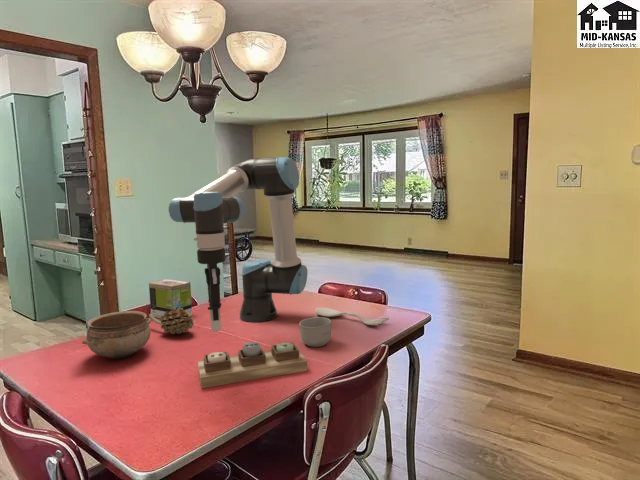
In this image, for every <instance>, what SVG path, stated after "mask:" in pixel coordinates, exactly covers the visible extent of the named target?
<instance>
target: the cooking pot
mask: <svg viewBox="0 0 640 480" xmlns="http://www.w3.org/2000/svg"><path fill="white" fill-rule="evenodd" d="M151 322H152V320H151V319H150V318H149V317H148V314H147V313H146V312H142V311H137V310H125V311H115V312H110V313H106V314H102V315H99V316H95V317H93V318H91V319H90V320H88V322H87V325H88V330H87V334H86V340H82V342H81V343H82V344H83V345H87V347H88V348H89V349H90V351H91V352H92V353H94V354H95V355H98V356H102V357H105V358H108V359H112V360H121V359H125V358H129V357H130V356H132V355H134V354H135V353H136V352H138V351H139V350H141V349H142V348H143V347H145V345H146V344H147V343H148V342H149V340H150V337H151V334H152V331H151V327H150V323H151Z"/></svg>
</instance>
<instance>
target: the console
mask: <svg viewBox="0 0 640 480" xmlns="http://www.w3.org/2000/svg"><path fill="white" fill-rule="evenodd" d="M290 343H291V344H293V351H287V352H280V353H278V352H277V348H276V346H277V345H278V344H273V345H271V348H270V349H271V350H266V351H265V350H263V348H262V347H260V356H253V357H246V358H245V357H243V349H239V350H238V352H237V353H238V354H237V355H236V354H235V355H229V352H228V351H223V353H225V354H226V361H219V362H212V363H208V355H209V353H208V354H203V359H202V360H197V371H198V377H199V383H200V388H201V389H203V388H210V387H217V386H222V385H229V384H235V383H241V382H247V381H254V380H259V379H260V380H261V379H264V378H265V379H266V378H270V377H272V378H273V377H278V376H282V375H289V374H295V373H302V372H307V371H308V360H307V359H306V358H305V356H304V355H303V354H302V353H301V352H300V349H299V347H297V345H296V344H295V343H294V342H290Z"/></svg>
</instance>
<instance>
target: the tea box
mask: <svg viewBox="0 0 640 480" xmlns="http://www.w3.org/2000/svg"><path fill="white" fill-rule="evenodd" d="M148 289H149V293H148V294H149V304H150V314H151V315H153V317H154V318H156V319H160V318H161V316H162V315H164V314H165V313H166V312H167V311H168V312H170V311H172V309H176V310H177V309H178V308H183V310H184V311H186V310H187V313H189V314H191V317H192V315H193V306H192V305H193V304H192V287H191V282H190V281H184V280H178V279H168V278H167V279H166V278H165V279H161V280H158V281H157V280H156V281H153V282H149V283H148Z"/></svg>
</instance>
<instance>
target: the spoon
mask: <svg viewBox="0 0 640 480" xmlns="http://www.w3.org/2000/svg"><path fill="white" fill-rule="evenodd" d="M314 312H315V314H317V315H319V316H320V317H325V318H334V317H338V316H343V315H346V316H349V317H350V316H352V317H355V318H358V319H360V320H361V321H362V322H363V323H364V324H365V325H367V326H379V325H381V324H383V323H385V322H387V321H389V320H390V317H389V316H386V317H382V318H365V317H363V315H360V314H358V313H355V312H352V311H351V312H350V311H340V310H336V309H333V308H330V307H317V308H315V310H314Z"/></svg>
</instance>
